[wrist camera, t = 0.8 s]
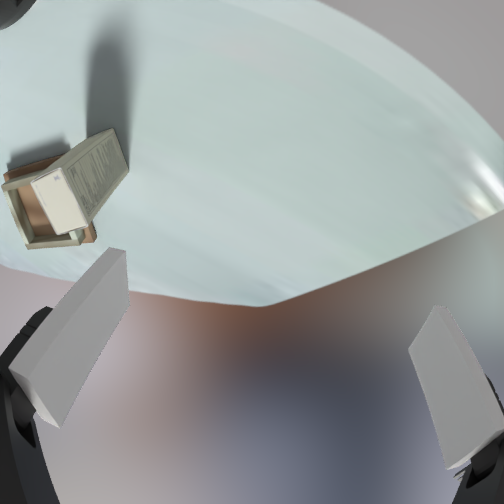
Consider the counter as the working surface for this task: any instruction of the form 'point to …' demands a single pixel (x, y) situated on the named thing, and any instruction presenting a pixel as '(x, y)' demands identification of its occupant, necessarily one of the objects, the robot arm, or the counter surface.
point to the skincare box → (81, 182)
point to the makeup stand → (37, 210)
